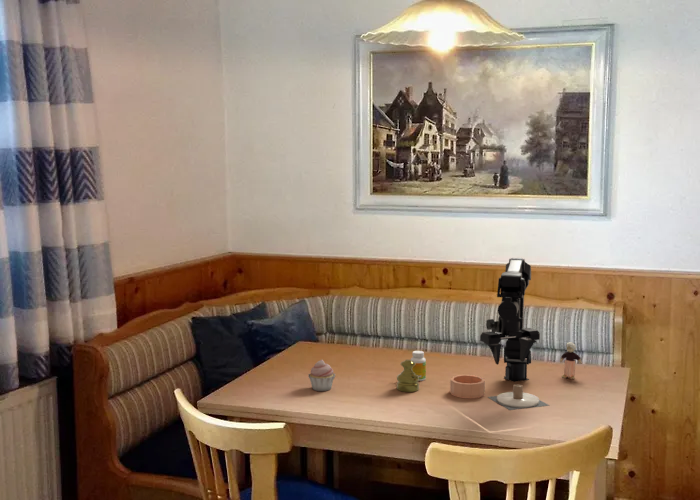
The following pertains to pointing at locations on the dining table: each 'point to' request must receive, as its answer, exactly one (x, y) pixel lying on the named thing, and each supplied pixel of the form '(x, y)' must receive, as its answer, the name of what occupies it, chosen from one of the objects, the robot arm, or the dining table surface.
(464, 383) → the bowl
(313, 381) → the cupcake
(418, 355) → the supplement bottle
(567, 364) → the grandmother figurine
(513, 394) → the lid
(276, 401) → the dining table surface
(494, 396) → the mat
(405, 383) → the olive green figurine
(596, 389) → the dining table surface
